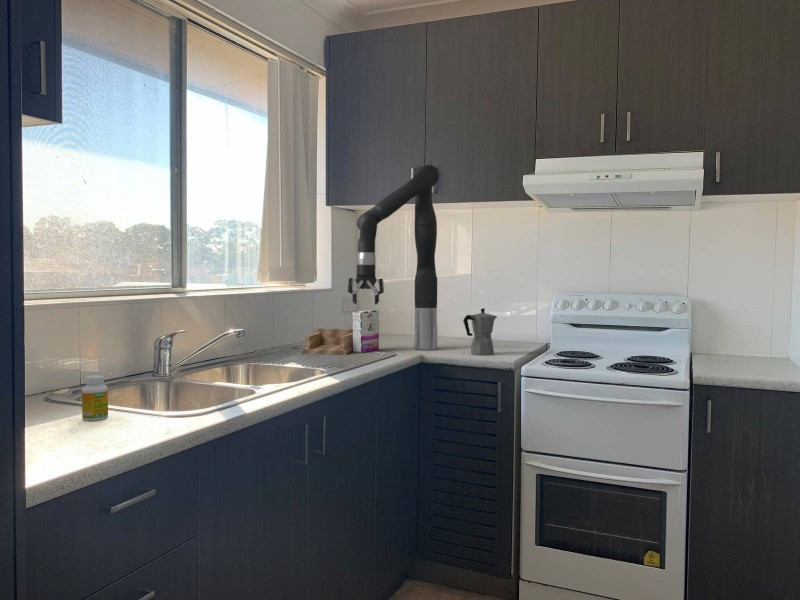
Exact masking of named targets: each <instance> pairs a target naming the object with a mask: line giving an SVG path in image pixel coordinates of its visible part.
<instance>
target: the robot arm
mask: <svg viewBox="0 0 800 600" xmlns="http://www.w3.org/2000/svg"><path fill="white" fill-rule="evenodd" d="M439 179H440V172H439V169H438V168H437V167H436V166H434V165H432V164H426V165H422V166H420V167H418V168H417V169H416V170H415V171H414V172H413V175H412V178H411V179H410V180H409V181H407V182H406V183H404V184H403V185H402V186H400V187H399V188H398V189H395V190H394V191H392V192H391V193H390V194H388V195H386V196H385V197H384V198H383V199H381V200H380V201H379V202H377V203H376V204H375V205H374V206H373V207H371V208H370V209H368V210H366V211H365V212H364V213H362V214H361V215H359V216H358V217H357V219H356V227H357V228H358V230H359V238H358V241H357V255H356V278H354V277H349V278H348V286H347V288H348V289H347V293H349V294H352V303H353V304H354V305H356V304H358V294H357V293H358V292H359V291H360V290H364V289H365V290H366V289H367V290H371V291H373V293H374V305H378V304H379V303H380V295H381V294H384V287H385V285H384V279H383V278H376V239H377V238H376V237H377V231H378V224H380V222H381V221H382V222H383V221H384V220H386V219H387V218H389V217H390V216H392V215H393V214H394V213H395V212H397V211H398V210H399V209H401V207H403V206H404V205H405V204H407V203H408V202H409V201H411V200H412V199H413V198H414V242H415V243H414V244H415V250H416V261H417V262H416V272H415V277H414V349H415V350H419V351H431V350H433V351H434V350H435V351H436V350H437V349H438V330H439V329H438V328H439V327H438V276H437V270H436V259H435V258H436V248H437V240H438V239H437V237H438V225H437V224H438V223H437V216H436V215H437V214H436V212H435V208H434V205H433V187H434V186H435V185H436V184H438V182H439ZM354 283H356V284H357V285H356V286H355V288H354V287H353V285H354ZM376 283H377V284H378V286H379V289H378V288H377V287H376V286H375V284H376ZM353 288H354V289H353Z"/></svg>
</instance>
